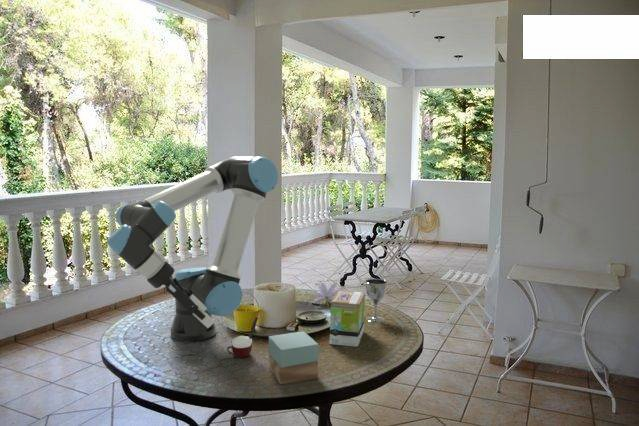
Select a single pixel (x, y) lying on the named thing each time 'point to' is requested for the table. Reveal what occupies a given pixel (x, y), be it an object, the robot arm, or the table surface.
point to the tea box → (347, 318)
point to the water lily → (325, 293)
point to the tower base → (293, 371)
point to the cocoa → (242, 344)
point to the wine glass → (376, 296)
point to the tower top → (293, 349)
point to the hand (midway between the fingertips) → (207, 317)
